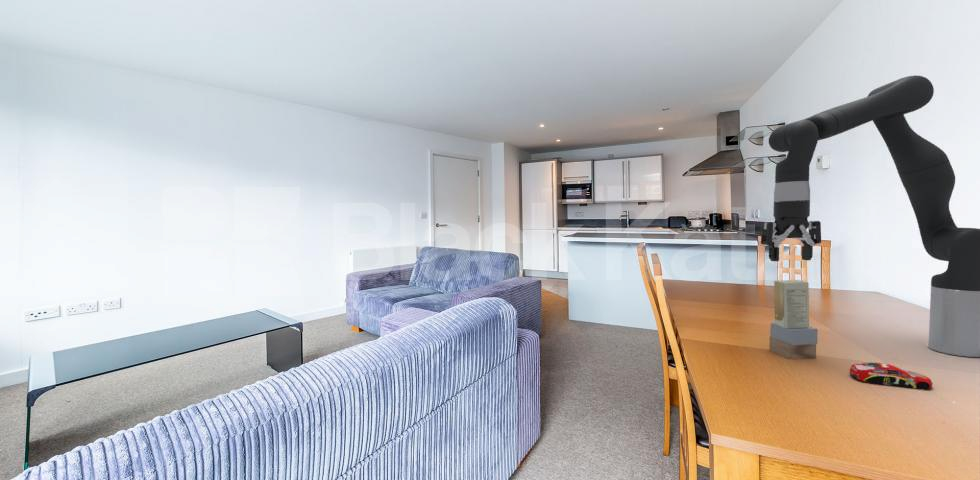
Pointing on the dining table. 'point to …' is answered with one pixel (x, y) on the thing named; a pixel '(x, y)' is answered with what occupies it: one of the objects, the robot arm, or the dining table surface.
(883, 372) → the race car
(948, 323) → the robot arm
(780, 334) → the top block
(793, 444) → the dining table surface
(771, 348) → the bottom block
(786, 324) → the skincare box
